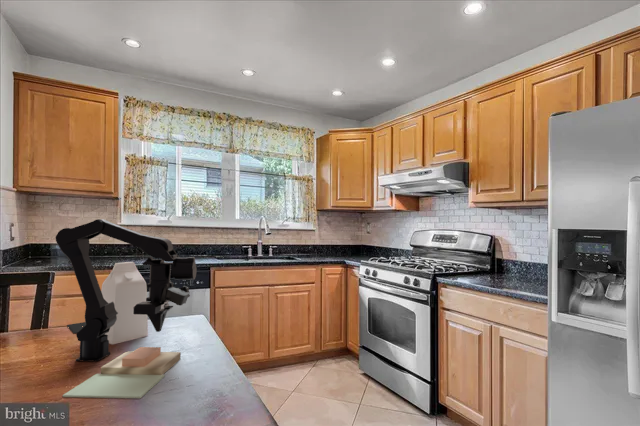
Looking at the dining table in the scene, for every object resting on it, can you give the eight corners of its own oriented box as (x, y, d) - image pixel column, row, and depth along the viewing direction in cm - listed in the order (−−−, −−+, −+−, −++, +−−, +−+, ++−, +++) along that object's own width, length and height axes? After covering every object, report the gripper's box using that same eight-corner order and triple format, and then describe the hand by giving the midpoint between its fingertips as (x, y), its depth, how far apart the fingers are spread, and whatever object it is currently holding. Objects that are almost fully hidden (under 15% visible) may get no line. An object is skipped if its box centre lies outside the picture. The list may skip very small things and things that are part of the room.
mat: (62, 396, 81) (62, 395, 81) (96, 375, 93) (96, 373, 93) (140, 398, 81) (140, 396, 81) (164, 376, 92) (164, 375, 92)
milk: (131, 329, 134) (133, 260, 135) (147, 335, 127) (149, 262, 128) (96, 337, 124) (99, 262, 125) (112, 344, 117) (114, 265, 118)
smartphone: (65, 326, 138) (74, 335, 128) (65, 324, 139) (74, 332, 128) (87, 323, 144) (97, 331, 133) (87, 321, 144) (97, 328, 133)
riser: (100, 375, 93) (100, 367, 93) (126, 358, 105) (126, 351, 105) (161, 376, 93) (161, 368, 93) (180, 359, 105) (180, 352, 105)
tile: (121, 366, 94) (122, 358, 94) (140, 354, 103) (140, 347, 103) (144, 366, 94) (144, 358, 94) (160, 354, 103) (160, 347, 103)
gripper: (172, 285, 99) (171, 341, 98) (197, 275, 118) (196, 323, 117) (133, 284, 99) (131, 341, 99) (164, 275, 118) (162, 323, 117)
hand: (158, 331), depth 108 cm, fingers closed
